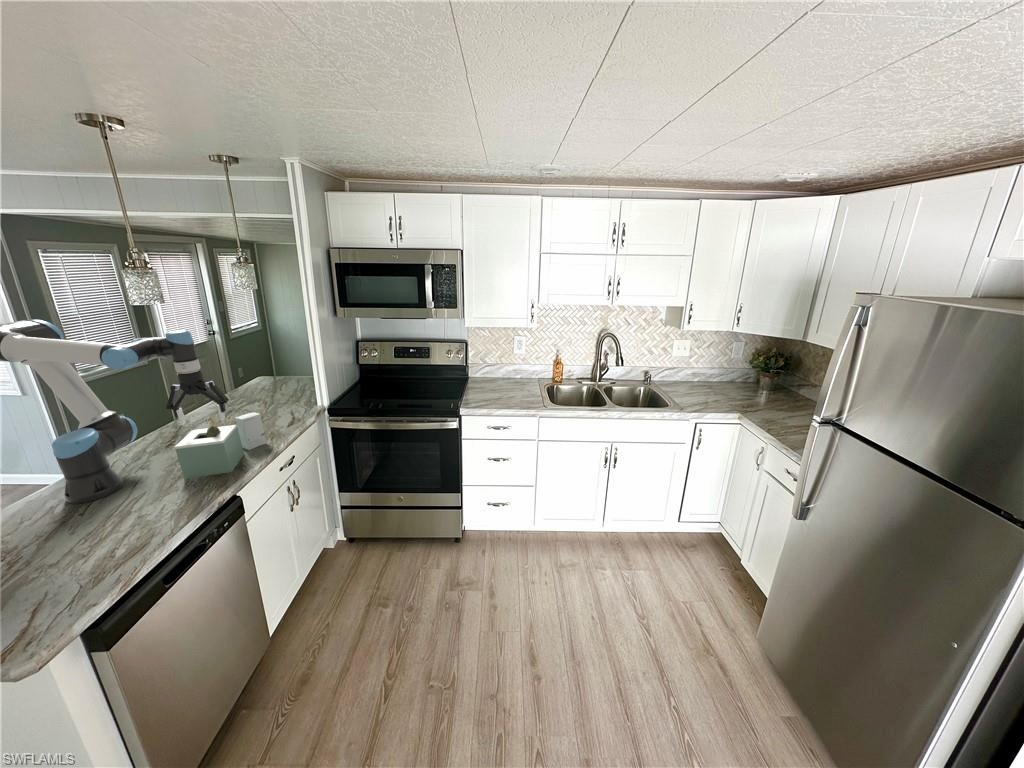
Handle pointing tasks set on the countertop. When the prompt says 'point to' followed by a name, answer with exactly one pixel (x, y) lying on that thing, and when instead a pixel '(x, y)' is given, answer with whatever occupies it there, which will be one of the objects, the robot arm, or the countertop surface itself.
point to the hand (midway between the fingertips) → (203, 422)
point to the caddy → (209, 452)
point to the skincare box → (250, 430)
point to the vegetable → (212, 429)
